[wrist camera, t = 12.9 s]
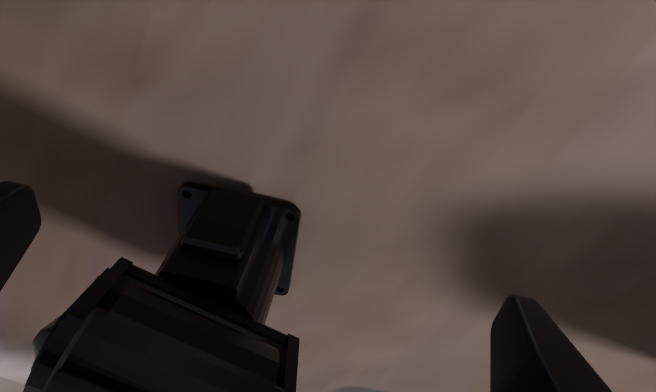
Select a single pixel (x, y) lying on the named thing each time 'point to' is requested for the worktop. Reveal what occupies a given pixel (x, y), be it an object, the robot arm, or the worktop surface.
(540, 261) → the worktop surface
